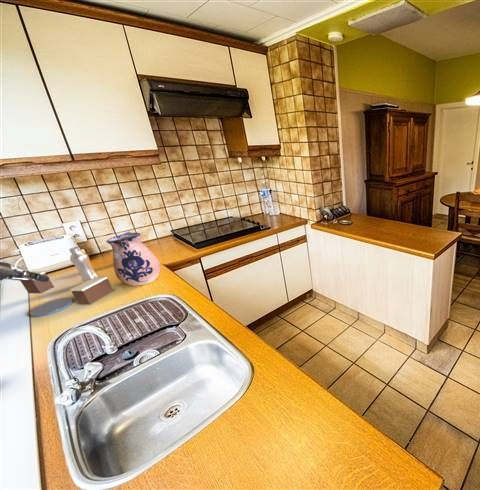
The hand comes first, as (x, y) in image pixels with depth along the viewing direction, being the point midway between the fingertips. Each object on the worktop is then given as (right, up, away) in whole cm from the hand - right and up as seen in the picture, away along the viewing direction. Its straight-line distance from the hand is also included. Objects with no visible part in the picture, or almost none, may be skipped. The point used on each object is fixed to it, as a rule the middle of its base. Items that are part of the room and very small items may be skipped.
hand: (41, 279), depth 115 cm
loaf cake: (+14, -10, +10) cm, 20 cm away
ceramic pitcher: (+25, -4, +23) cm, 35 cm away
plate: (0, -13, +4) cm, 14 cm away
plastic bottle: (-2, -5, +24) cm, 24 cm away
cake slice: (0, -5, 0) cm, 5 cm away
